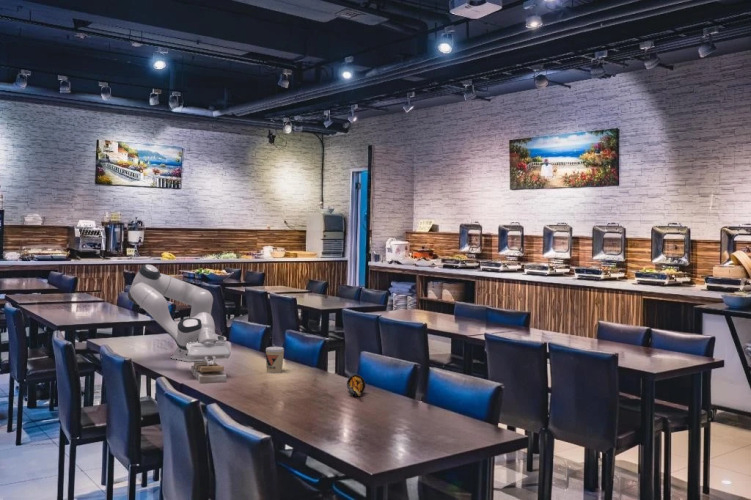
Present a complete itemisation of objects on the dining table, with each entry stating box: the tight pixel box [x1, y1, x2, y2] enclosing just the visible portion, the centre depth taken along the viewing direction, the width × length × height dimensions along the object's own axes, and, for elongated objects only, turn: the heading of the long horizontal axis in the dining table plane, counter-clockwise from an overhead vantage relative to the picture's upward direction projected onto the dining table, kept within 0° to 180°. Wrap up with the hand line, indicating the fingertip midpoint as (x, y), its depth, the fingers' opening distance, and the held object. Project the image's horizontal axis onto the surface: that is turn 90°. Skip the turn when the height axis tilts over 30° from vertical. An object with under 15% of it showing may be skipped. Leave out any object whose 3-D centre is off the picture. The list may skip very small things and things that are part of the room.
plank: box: [198, 364, 225, 372], centre depth 327 cm, size 13×10×2 cm
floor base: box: [190, 361, 227, 384], centre depth 333 cm, size 27×12×5 cm, turn 24°
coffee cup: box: [265, 346, 285, 374], centre depth 350 cm, size 9×9×12 cm
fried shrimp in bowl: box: [346, 374, 367, 397], centre depth 303 cm, size 9×11×18 cm
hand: (210, 365), depth 326 cm, fingers closed, pressing on plank
